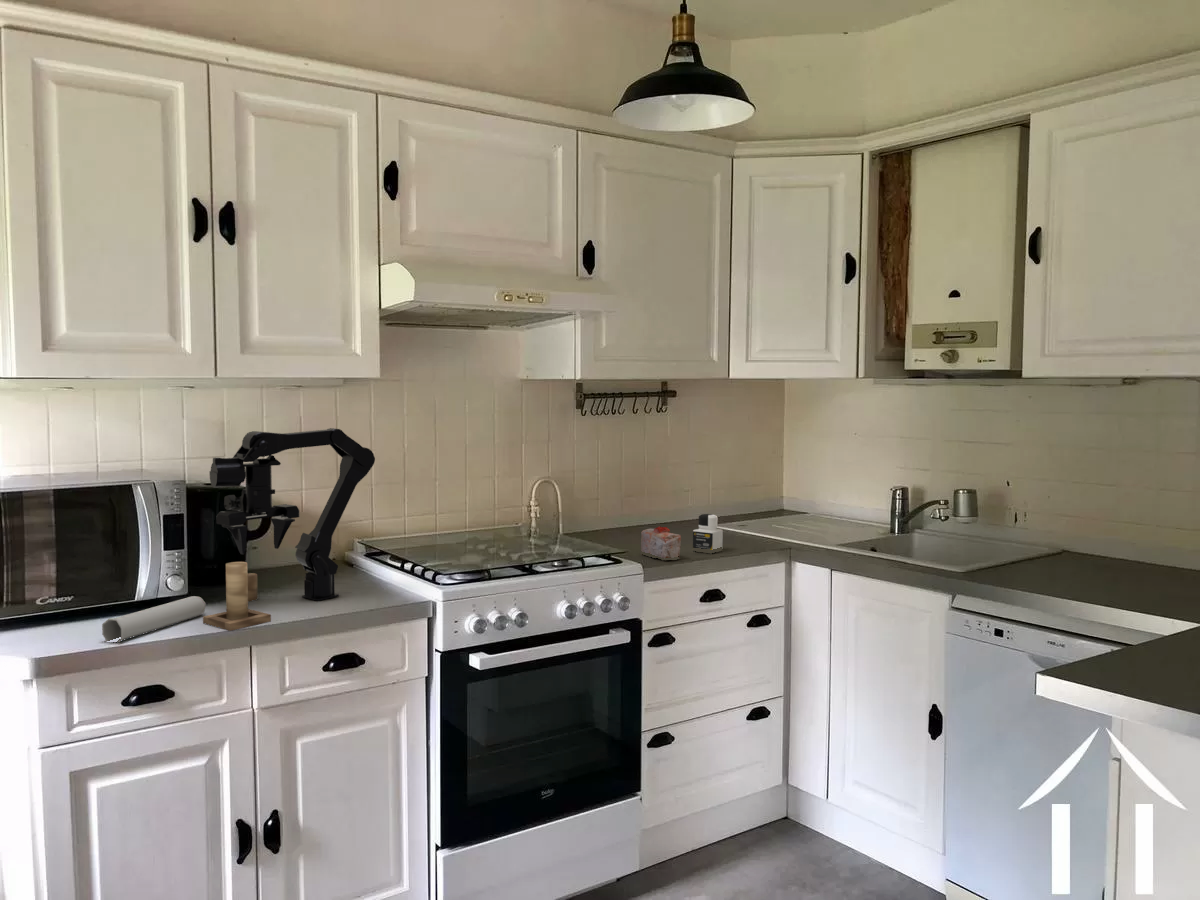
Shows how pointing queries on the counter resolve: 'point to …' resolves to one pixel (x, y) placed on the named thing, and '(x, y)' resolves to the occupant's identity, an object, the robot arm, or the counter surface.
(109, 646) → the counter surface
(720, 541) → the medicine bottle
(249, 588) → the walnut stub
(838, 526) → the counter surface
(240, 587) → the oak dowel
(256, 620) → the hole plate
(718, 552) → the counter surface
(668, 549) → the food item
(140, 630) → the tube
